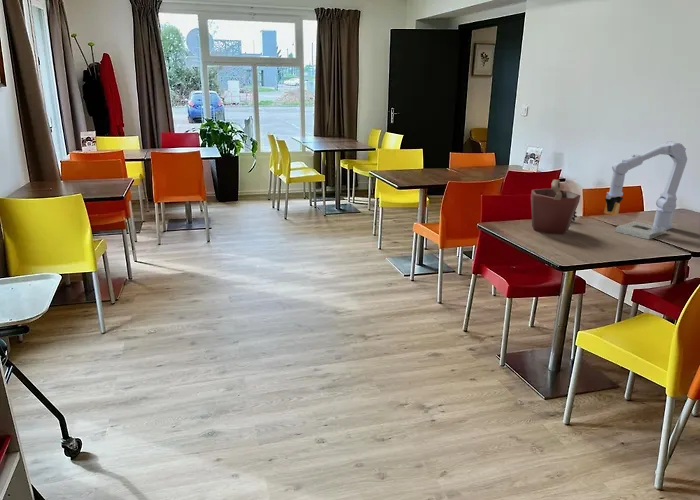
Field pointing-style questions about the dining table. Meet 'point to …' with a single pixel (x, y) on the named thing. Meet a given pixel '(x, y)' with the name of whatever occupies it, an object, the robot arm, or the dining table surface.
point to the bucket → (553, 209)
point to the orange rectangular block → (615, 209)
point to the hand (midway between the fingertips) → (611, 210)
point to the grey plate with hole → (641, 230)
